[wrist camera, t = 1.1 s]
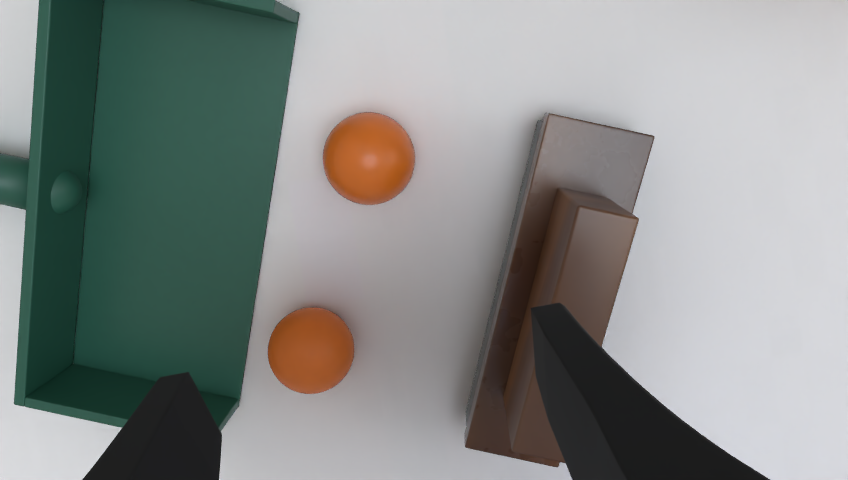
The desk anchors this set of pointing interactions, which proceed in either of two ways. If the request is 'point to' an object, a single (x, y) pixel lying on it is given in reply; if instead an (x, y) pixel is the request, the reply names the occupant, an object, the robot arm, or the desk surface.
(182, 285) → the dustpan
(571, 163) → the brush
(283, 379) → the orange ball
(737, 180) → the desk surface
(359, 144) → the small orange ball
